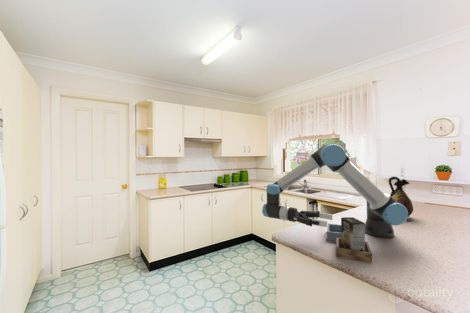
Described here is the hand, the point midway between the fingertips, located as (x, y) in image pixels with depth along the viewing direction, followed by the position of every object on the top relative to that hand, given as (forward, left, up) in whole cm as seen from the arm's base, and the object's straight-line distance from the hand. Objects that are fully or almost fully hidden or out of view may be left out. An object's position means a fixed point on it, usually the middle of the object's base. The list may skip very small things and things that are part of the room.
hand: (329, 220), depth 108 cm
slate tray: (-6, -17, -14) cm, 23 cm away
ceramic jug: (-45, -75, -14) cm, 89 cm away
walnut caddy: (-10, +2, -14) cm, 17 cm away
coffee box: (-10, +2, -14) cm, 17 cm away
